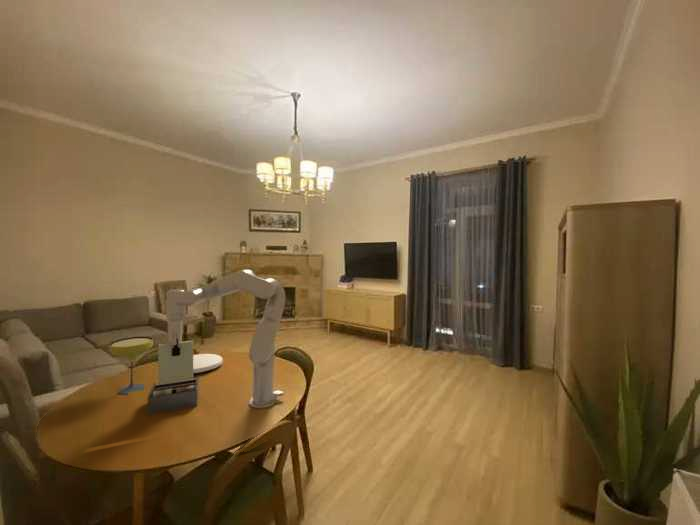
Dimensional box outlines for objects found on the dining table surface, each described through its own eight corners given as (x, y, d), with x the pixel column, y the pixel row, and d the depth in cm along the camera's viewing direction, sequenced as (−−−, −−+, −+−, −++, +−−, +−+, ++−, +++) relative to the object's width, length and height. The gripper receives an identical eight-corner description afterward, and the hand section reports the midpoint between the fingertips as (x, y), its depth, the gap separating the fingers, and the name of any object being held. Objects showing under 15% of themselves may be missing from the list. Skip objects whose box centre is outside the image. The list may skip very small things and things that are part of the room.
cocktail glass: (144, 395, 142) (145, 345, 141) (101, 400, 137) (101, 348, 136) (158, 380, 159) (158, 335, 159) (119, 383, 154) (119, 337, 154)
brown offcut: (172, 405, 132) (172, 388, 132) (171, 408, 129) (171, 391, 129) (153, 408, 129) (153, 390, 129) (152, 411, 126) (152, 393, 126)
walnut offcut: (194, 401, 136) (194, 384, 136) (193, 404, 133) (193, 387, 133) (177, 404, 133) (177, 387, 133) (176, 407, 130) (176, 390, 130)
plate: (196, 350, 195) (231, 354, 189) (196, 360, 194) (231, 364, 189) (162, 361, 167) (202, 366, 162) (161, 372, 167) (201, 377, 161)
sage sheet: (193, 377, 138) (193, 340, 138) (193, 378, 137) (192, 341, 137) (158, 382, 132) (158, 344, 132) (158, 384, 131) (158, 345, 131)
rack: (198, 394, 145) (198, 376, 145) (197, 407, 132) (197, 388, 132) (153, 401, 137) (153, 383, 136) (147, 416, 124) (147, 396, 124)
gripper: (169, 313, 139) (169, 350, 140) (164, 320, 125) (164, 361, 126) (186, 312, 142) (186, 348, 143) (183, 318, 128) (183, 359, 129)
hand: (176, 354), depth 134 cm, fingers closed on sage sheet, 1 cm apart
